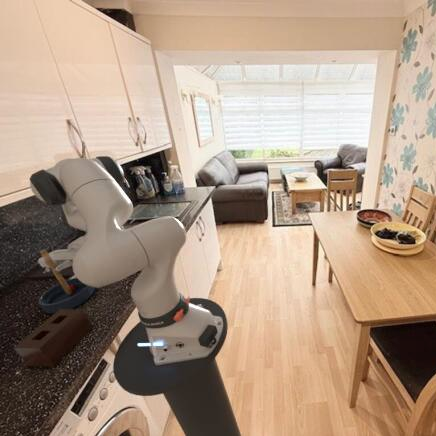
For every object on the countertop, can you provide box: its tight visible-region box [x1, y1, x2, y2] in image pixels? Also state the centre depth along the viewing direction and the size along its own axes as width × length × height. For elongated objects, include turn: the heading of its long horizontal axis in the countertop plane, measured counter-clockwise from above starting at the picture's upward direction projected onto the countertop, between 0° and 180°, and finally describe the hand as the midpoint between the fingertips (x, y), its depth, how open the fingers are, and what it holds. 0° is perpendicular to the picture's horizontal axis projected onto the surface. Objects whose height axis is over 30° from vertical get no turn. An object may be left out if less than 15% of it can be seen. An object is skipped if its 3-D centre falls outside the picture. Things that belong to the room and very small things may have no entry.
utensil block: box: [13, 308, 94, 368], centre depth 72 cm, size 8×14×8 cm, turn 176°
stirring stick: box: [39, 249, 72, 295], centre depth 89 cm, size 2×2×20 cm
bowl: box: [38, 278, 96, 315], centre depth 91 cm, size 15×15×5 cm
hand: (52, 270), depth 87 cm, fingers closed on stirring stick, 1 cm apart
